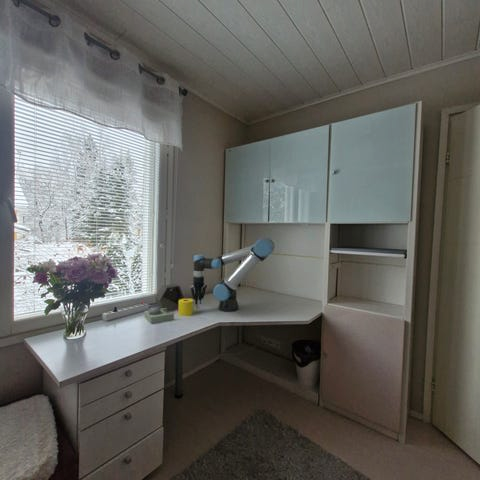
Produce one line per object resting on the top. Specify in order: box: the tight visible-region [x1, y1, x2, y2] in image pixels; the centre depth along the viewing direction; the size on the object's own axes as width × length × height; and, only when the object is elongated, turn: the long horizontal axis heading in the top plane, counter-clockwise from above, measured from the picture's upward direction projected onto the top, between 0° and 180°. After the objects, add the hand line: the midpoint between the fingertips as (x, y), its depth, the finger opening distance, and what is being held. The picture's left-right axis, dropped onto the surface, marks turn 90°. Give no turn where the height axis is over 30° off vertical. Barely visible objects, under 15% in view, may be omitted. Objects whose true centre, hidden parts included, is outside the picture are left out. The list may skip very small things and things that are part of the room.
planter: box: [154, 283, 185, 313], centre depth 187 cm, size 17×8×21 cm
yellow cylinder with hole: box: [177, 298, 194, 317], centre depth 178 cm, size 10×10×9 cm
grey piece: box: [144, 306, 175, 325], centre depth 167 cm, size 14×15×7 cm
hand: (197, 308), depth 184 cm, fingers closed
